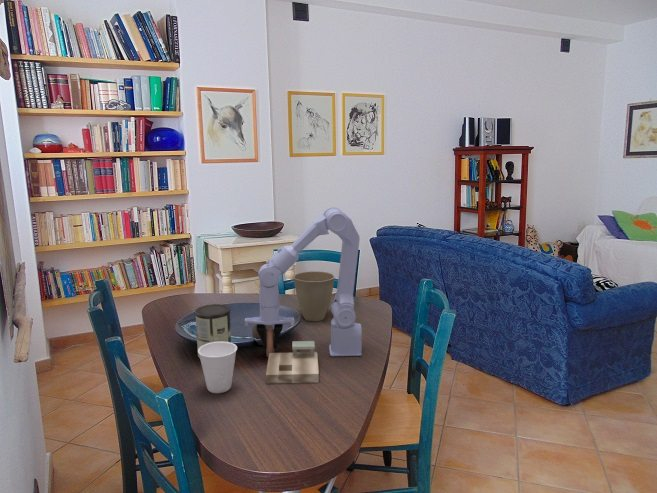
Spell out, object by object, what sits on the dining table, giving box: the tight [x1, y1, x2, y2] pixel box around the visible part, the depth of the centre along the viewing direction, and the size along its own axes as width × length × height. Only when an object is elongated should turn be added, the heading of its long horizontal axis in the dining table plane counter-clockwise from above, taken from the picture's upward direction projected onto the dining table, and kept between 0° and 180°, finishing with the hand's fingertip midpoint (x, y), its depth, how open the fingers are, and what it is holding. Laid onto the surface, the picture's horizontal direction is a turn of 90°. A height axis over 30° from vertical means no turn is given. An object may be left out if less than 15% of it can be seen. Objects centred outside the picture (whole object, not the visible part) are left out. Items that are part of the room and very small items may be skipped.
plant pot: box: [293, 270, 336, 322], centre depth 179 cm, size 15×15×16 cm
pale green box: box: [291, 340, 316, 356], centre depth 142 cm, size 6×4×6 cm, turn 93°
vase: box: [251, 315, 274, 346], centre depth 157 cm, size 7×7×9 cm
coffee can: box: [194, 303, 232, 359], centre depth 148 cm, size 10×10×14 cm
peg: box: [265, 328, 275, 358], centre depth 147 cm, size 2×2×8 cm
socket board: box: [265, 351, 320, 385], centre depth 138 cm, size 14×14×2 cm
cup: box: [197, 341, 238, 394], centre depth 127 cm, size 10×10×11 cm
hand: (270, 347), depth 148 cm, fingers closed on peg, 2 cm apart
